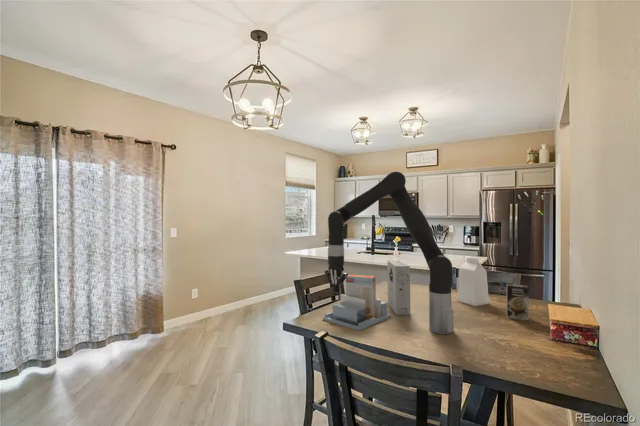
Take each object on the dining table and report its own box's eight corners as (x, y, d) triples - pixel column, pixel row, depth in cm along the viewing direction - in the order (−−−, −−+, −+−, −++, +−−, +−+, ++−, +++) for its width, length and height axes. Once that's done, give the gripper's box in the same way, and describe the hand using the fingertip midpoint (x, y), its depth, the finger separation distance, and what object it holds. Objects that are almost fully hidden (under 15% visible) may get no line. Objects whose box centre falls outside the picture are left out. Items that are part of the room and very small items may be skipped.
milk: (457, 300, 188) (456, 257, 189) (471, 298, 193) (470, 256, 194) (474, 306, 178) (474, 259, 178) (488, 303, 182) (488, 258, 183)
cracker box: (376, 317, 158) (376, 275, 159) (373, 321, 153) (372, 277, 153) (350, 314, 164) (349, 273, 165) (345, 317, 159) (345, 275, 159)
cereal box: (410, 314, 163) (410, 266, 163) (395, 314, 163) (395, 266, 163) (400, 303, 184) (400, 260, 185) (387, 303, 185) (387, 260, 185)
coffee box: (507, 318, 156) (506, 285, 156) (506, 314, 162) (505, 283, 162) (529, 321, 152) (528, 287, 152) (527, 317, 157) (527, 284, 157)
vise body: (390, 317, 159) (390, 299, 159) (358, 330, 140) (358, 310, 140) (355, 308, 174) (355, 292, 174) (322, 319, 156) (322, 301, 156)
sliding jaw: (369, 323, 149) (369, 300, 149) (360, 327, 144) (360, 303, 144) (339, 314, 162) (338, 293, 162) (329, 318, 157) (329, 295, 157)
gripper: (352, 255, 145) (352, 293, 144) (331, 252, 154) (330, 288, 154) (341, 256, 139) (341, 296, 139) (320, 254, 148) (320, 291, 148)
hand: (336, 292), depth 146 cm, fingers closed
